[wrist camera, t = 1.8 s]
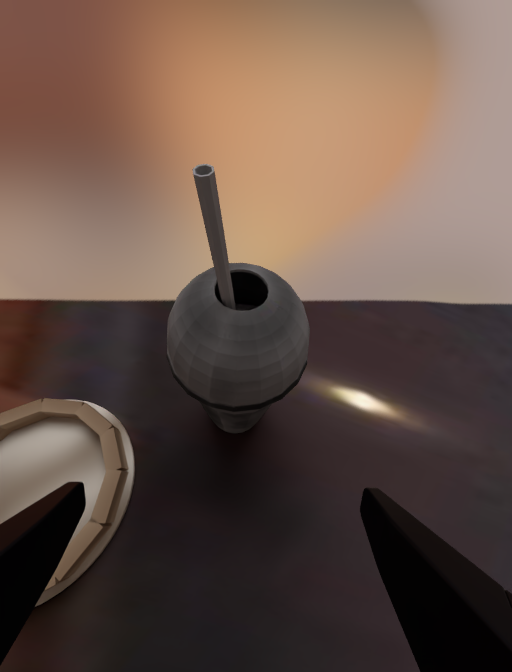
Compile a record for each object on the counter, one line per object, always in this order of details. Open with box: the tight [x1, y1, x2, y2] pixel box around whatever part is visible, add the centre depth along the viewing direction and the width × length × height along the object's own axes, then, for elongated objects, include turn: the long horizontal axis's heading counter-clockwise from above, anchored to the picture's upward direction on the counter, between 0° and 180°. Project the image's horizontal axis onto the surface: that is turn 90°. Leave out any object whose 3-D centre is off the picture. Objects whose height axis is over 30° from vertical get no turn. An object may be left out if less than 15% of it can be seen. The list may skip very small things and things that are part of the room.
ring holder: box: [0, 398, 135, 607], centre depth 18 cm, size 13×13×2 cm
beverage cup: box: [167, 164, 310, 433], centre depth 15 cm, size 7×7×20 cm
